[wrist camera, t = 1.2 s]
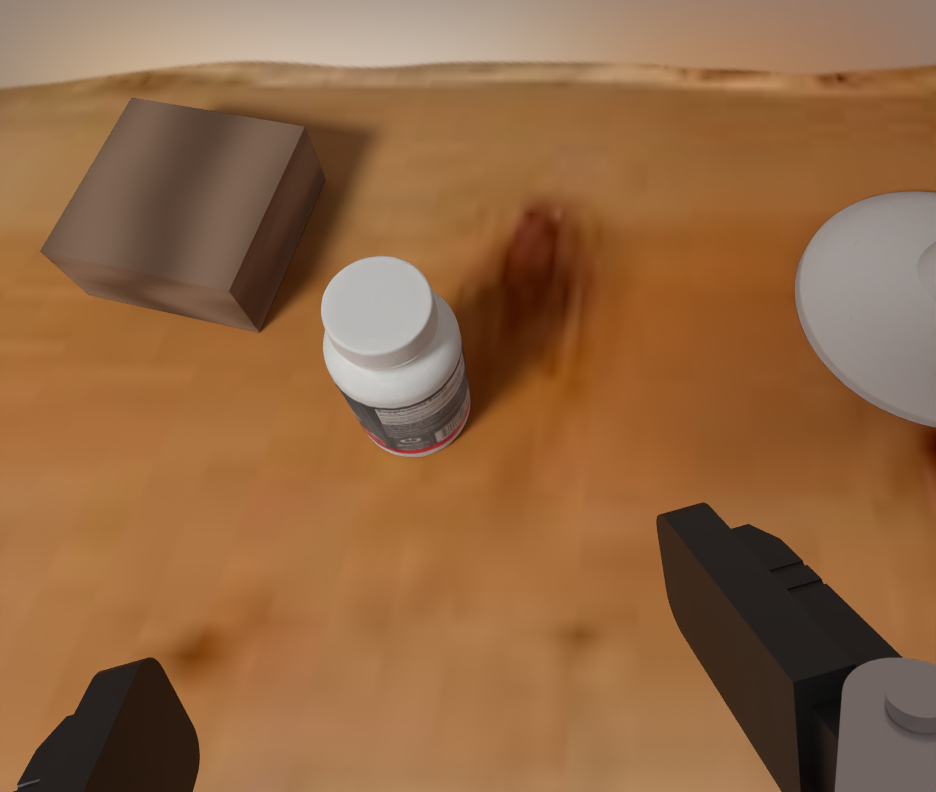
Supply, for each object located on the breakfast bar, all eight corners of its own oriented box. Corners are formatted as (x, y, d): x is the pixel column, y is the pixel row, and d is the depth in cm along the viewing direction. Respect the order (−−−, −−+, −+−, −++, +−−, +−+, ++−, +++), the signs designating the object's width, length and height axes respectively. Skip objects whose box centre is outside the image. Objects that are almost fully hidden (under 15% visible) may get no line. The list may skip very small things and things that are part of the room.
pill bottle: (346, 379, 33) (283, 268, 24) (447, 340, 34) (423, 217, 25) (380, 477, 31) (326, 395, 22) (488, 435, 32) (478, 337, 23)
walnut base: (88, 294, 36) (40, 251, 32) (167, 151, 40) (131, 97, 36) (259, 332, 35) (228, 291, 31) (325, 179, 38) (304, 126, 34)
